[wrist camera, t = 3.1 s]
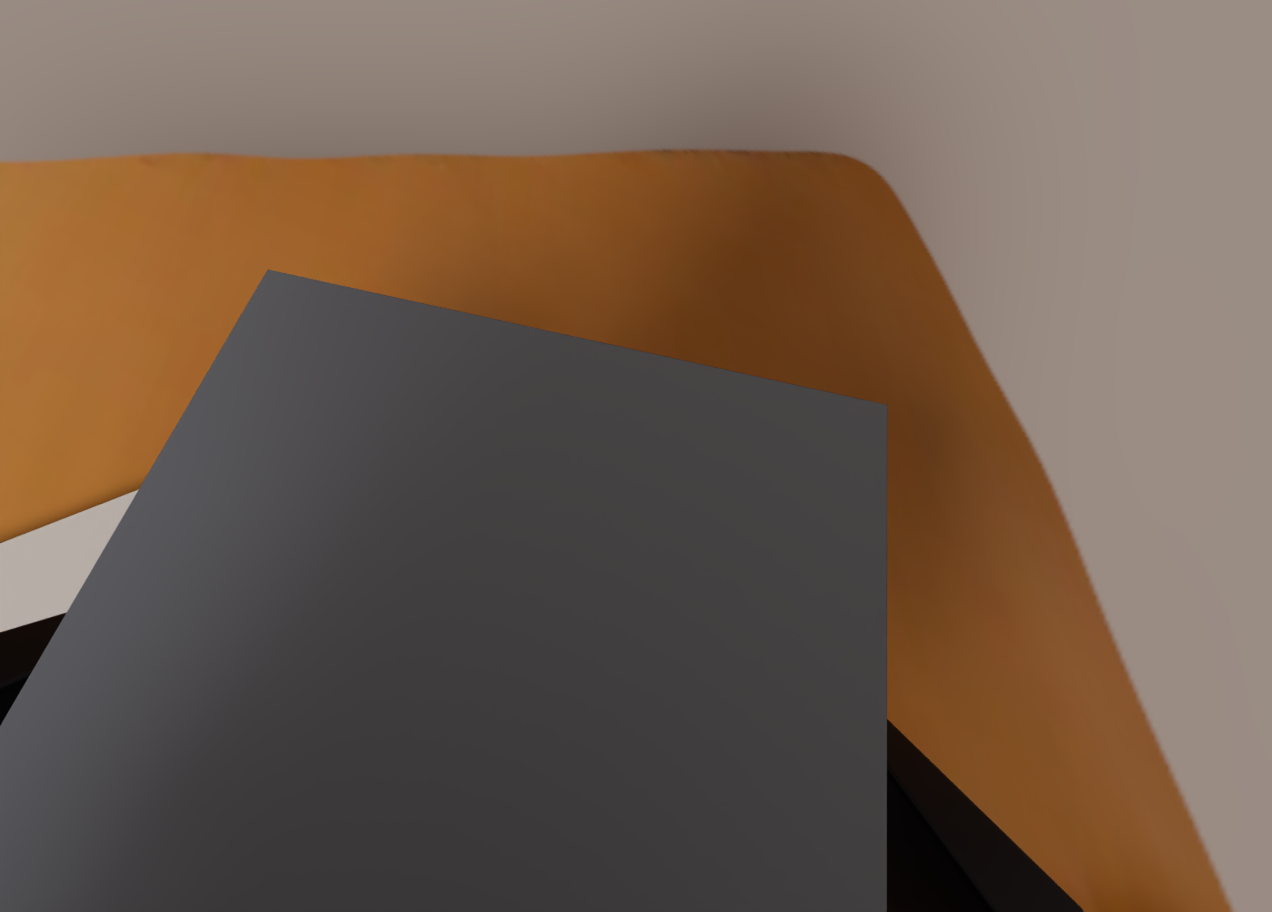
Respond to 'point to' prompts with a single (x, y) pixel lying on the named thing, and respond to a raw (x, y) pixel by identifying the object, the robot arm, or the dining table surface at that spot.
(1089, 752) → the dining table surface
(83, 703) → the tall block
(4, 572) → the white plate
